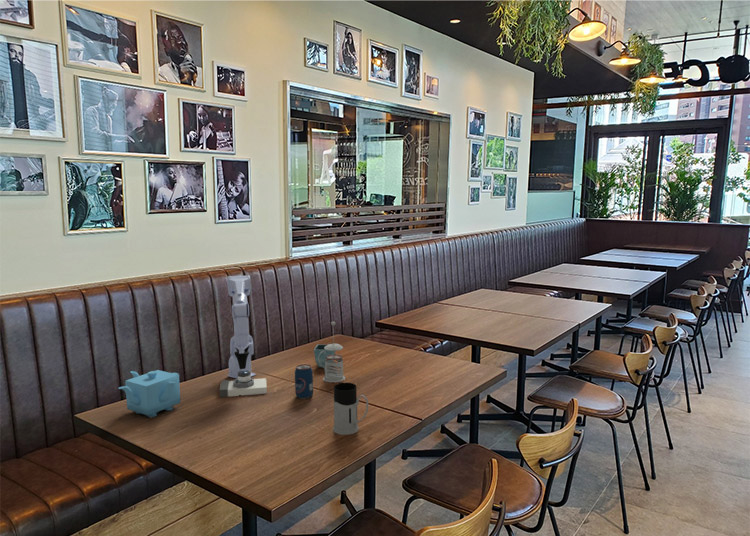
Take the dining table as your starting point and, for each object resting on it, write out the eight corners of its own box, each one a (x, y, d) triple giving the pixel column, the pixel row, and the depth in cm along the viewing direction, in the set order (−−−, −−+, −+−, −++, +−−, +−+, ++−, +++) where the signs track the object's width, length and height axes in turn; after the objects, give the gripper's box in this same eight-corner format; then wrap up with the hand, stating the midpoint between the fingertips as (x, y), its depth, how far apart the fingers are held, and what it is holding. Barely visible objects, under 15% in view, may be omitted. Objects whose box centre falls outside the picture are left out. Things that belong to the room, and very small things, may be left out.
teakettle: (182, 399, 211) (180, 362, 209) (178, 418, 193) (175, 378, 191) (130, 404, 206) (127, 366, 204) (120, 424, 188) (117, 383, 186)
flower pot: (336, 363, 254) (336, 344, 252) (333, 369, 245) (332, 350, 244) (317, 362, 255) (317, 344, 253) (313, 368, 246) (313, 349, 245)
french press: (344, 382, 228) (343, 324, 224) (317, 382, 228) (315, 324, 225) (346, 374, 238) (345, 318, 234) (320, 374, 238) (318, 319, 234)
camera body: (220, 397, 212) (219, 387, 212) (221, 387, 223) (221, 378, 223) (266, 393, 216) (266, 383, 216) (266, 383, 227) (265, 374, 226)
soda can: (291, 397, 212) (290, 367, 210) (302, 391, 218) (301, 362, 216) (306, 400, 208) (305, 370, 207) (316, 394, 214) (315, 365, 213)
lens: (235, 385, 219) (235, 372, 218) (244, 381, 223) (244, 369, 222) (244, 387, 216) (243, 375, 215) (253, 383, 220) (253, 371, 219)
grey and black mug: (345, 421, 189) (344, 380, 187) (376, 432, 180) (376, 389, 178) (327, 429, 183) (326, 387, 180) (359, 442, 174) (358, 397, 172)
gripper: (251, 336, 210) (252, 370, 212) (251, 327, 224) (253, 359, 226) (232, 338, 209) (234, 372, 211) (234, 328, 223) (235, 360, 225)
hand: (242, 365), depth 218 cm, fingers open, 7 cm apart
